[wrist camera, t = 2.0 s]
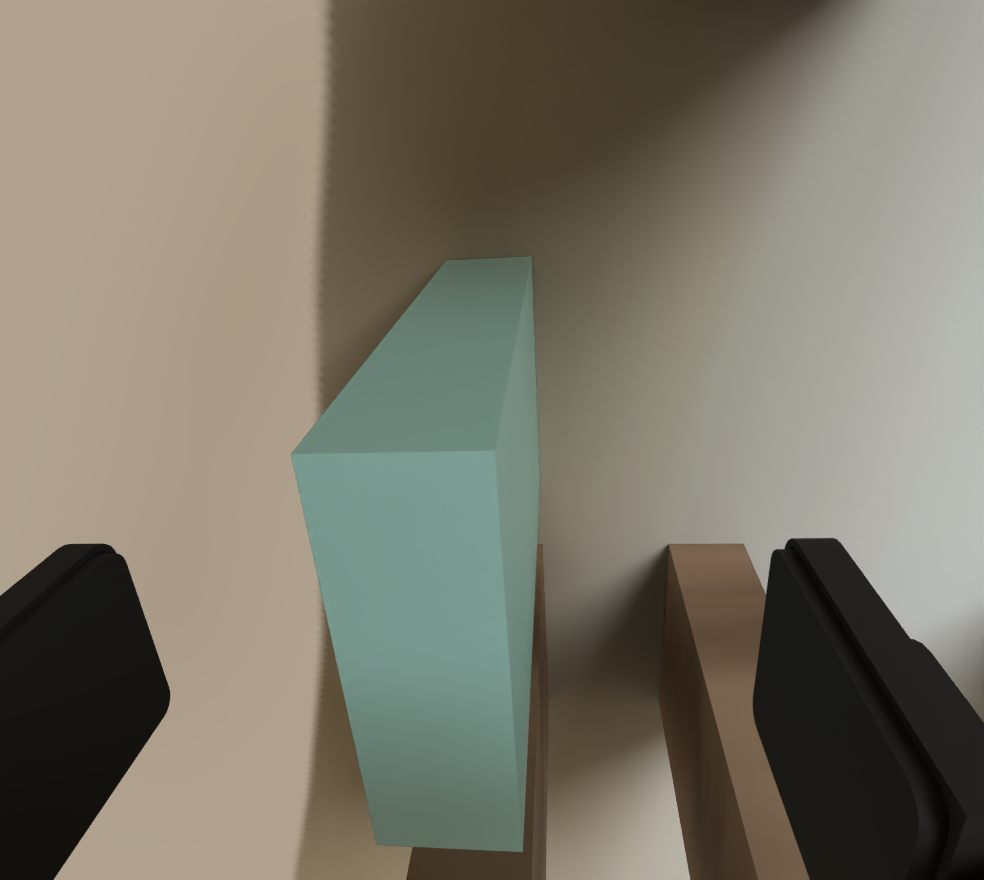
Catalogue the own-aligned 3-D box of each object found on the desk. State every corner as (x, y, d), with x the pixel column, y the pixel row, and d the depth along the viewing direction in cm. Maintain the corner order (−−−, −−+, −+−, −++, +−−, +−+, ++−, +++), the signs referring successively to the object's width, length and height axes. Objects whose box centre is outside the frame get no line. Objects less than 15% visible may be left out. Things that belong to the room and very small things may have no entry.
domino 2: (669, 544, 18) (776, 952, 9) (743, 543, 18) (927, 962, 9) (658, 701, 21) (736, 1140, 12) (724, 703, 21) (853, 1151, 12)
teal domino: (446, 260, 15) (290, 454, 6) (531, 256, 15) (495, 450, 6) (467, 483, 18) (376, 844, 9) (540, 482, 18) (522, 852, 9)
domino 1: (472, 544, 19) (395, 929, 10) (542, 544, 19) (530, 938, 10) (486, 697, 21) (436, 1113, 12) (548, 699, 21) (542, 1122, 12)
